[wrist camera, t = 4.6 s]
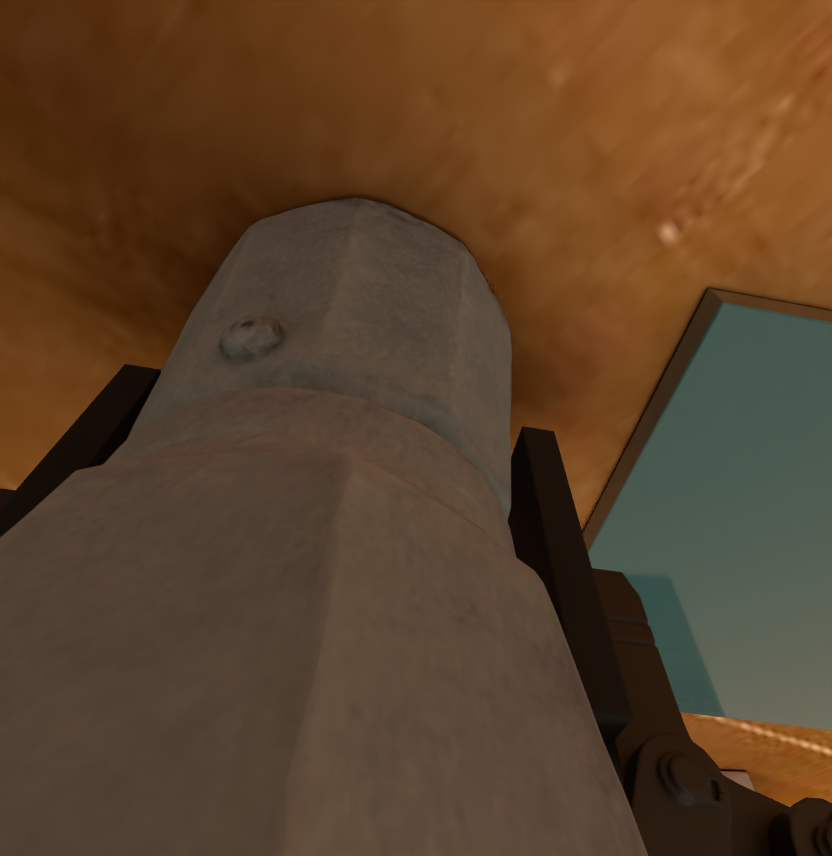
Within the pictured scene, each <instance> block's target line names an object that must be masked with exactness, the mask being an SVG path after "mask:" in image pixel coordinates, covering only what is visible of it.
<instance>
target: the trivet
mask: <svg viewBox="0 0 832 856" xmlns="http://www.w3.org/2000/svg"><path fill="white" fill-rule="evenodd" d="M583 537H584V541H585V544H586V548H587V552H588V555H589V559H590V562H591V566H592V568H596V569H603V570H610V571H617V572H622V573H623V574H624V576H625V577H626V578H627V580H628V581H629V582H630V584H631V585H632V586H633V588H634V589H635V590H636V591H637V593H638V594H639V595H640V598H641V601H642V604H643V607H644V610H645V613H646V616H647V619H648V626H650V627H651V630H652V633H653V636H654V639H655V647H658V650H659V653H660V656H661V659H662V662H663V665H664V668H665V670H666V673H667V676H668V679H669V682H670V685H671V688H672V691H673V693H674V696H675V699H676V702H677V705H678V708H679V711H680V712H684V713H692V714H700V715H709V716H717V717H725V718H733V719H742V720H750V721H758V722H766V723H775V724H783V725H791V726H799V727H808V728H816V729H824V730H832V311H830V310H824V309H819V308H813V307H808V306H802V305H797V304H791V303H786V302H781V301H775V300H770V299H764V298H759V297H753V296H748V295H742V294H737V293H732V292H726V291H721V290H715V289H708V290H707V292H706V294H705V296H704V298H703V300H702V302H701V304H700V306H699V308H698V309H697V311H696V313H695V315H694V317H693V319H692V321H691V323H690V325H689V327H688V329H687V331H686V333H685V335H684V337H683V339H682V341H681V343H680V345H679V347H678V348H677V350H676V352H675V354H674V356H673V358H672V360H671V362H670V364H669V366H668V368H667V370H666V372H665V374H664V376H663V378H662V380H661V382H660V384H659V386H658V387H657V389H656V391H655V393H654V395H653V397H652V399H651V401H650V403H649V405H648V407H647V409H646V411H645V413H644V415H643V417H642V419H641V421H640V423H639V425H638V426H637V428H636V430H635V432H634V434H633V436H632V438H631V440H630V442H629V444H628V446H627V448H626V450H625V452H624V454H623V456H622V458H621V460H620V462H619V464H618V465H617V467H616V469H615V471H614V473H613V475H612V477H611V479H610V481H609V483H608V485H607V487H606V489H605V491H604V493H603V495H602V497H601V499H600V501H599V503H598V504H597V506H596V508H595V510H594V512H593V514H592V516H591V518H590V520H589V522H588V524H587V526H586V528H585V530H584V532H583Z"/></svg>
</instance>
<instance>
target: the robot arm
mask: <svg viewBox="0 0 832 856" xmlns="http://www.w3.org/2000/svg"><path fill="white" fill-rule="evenodd" d="M160 374H161V370H159V369H153V368H146V367H140V366H134V365H127V364H125V365H124V366H123V367H122V368H121V369H120V371H119V372H118V373H117V374H116V375H115V376H114V378H113V379H112V380H111V381H110V382H109V383H108V384H107V386H106V387H105V388H104V389H103V390H102V391H101V393H100V394H99V395H98V396H97V397H96V398H95V399H94V401H93V402H92V403H91V404H90V405H89V406H88V408H87V409H86V410H85V411H84V412H83V413H82V414H81V416H80V417H79V418H78V419H77V420H76V421H75V423H74V424H73V425H72V426H71V427H70V428H69V430H68V431H67V432H66V433H65V434H64V435H63V436H62V438H61V439H60V440H59V441H58V442H57V443H56V445H55V446H54V447H53V448H52V449H51V450H50V451H49V453H48V454H47V455H46V456H45V457H44V458H43V460H42V461H41V462H40V463H39V464H38V465H37V466H36V468H35V469H34V470H33V471H32V472H31V473H30V475H29V476H28V477H27V478H26V479H25V480H24V482H23V483H22V484H21V485H20V486H19V487H18V488H17V490H16V491H15V490H7V489H0V537H2V536H3V535H4V534H5V533H6V532H7V531H9V530H10V529H11V528H12V527H13V526H14V525H15V524H17V523H18V522H19V521H20V520H21V519H22V518H24V517H25V516H26V515H27V514H28V513H29V512H30V511H32V510H33V509H34V508H35V507H36V506H37V505H38V504H39V503H40V502H42V501H43V500H44V499H45V498H46V497H47V496H48V495H49V494H50V493H52V492H53V491H54V490H55V489H56V488H57V487H58V486H59V485H60V484H61V483H63V482H64V481H65V480H66V479H67V478H68V477H69V476H70V475H71V474H73V473H74V472H75V471H76V470H80V469H85V468H90V467H94V466H99V465H103V464H104V463H105V462H106V461H107V460H108V459H109V458H110V457H111V455H112V454H113V453H114V452H115V451H116V450H117V449H118V448H119V447H120V446H121V445H122V444H123V443H124V442H125V441H126V440H127V438H128V436H129V434H130V432H131V430H132V428H133V425H134V423H135V422H136V420H137V418H138V416H139V414H140V412H141V410H142V408H143V406H144V404H145V403H146V401H147V399H148V397H149V395H150V393H151V391H152V389H153V388H154V386H155V384H156V382H157V380H158V378H159V376H160ZM508 525H509V528H510V531H511V535H512V540H513V545H514V549H515V554H516V558H518V559H519V560H520V561H522V562H523V563H524V564H526V565H527V566H529V567H530V568H531V569H533V570H534V571H535V572H536V573H537V575H538V576H539V577H540V579H541V580H542V582H543V583H544V585H545V588H546V590H547V593H548V595H549V597H550V600H551V602H552V604H553V607H554V609H555V611H556V614H557V617H558V619H559V622H560V625H561V627H562V630H563V633H564V636H565V638H566V641H567V644H568V646H569V649H570V652H571V654H572V657H573V660H574V662H575V665H576V668H577V670H578V673H579V676H580V679H581V681H582V684H583V687H584V690H585V692H586V695H587V698H588V701H589V703H590V706H591V709H592V712H593V715H594V717H595V720H596V723H597V726H598V728H599V731H600V734H601V737H602V739H603V742H604V744H605V746H606V749H607V751H608V754H609V756H610V759H611V761H612V764H613V766H614V768H615V771H616V773H617V776H618V778H619V781H620V783H621V785H622V788H623V790H624V793H625V795H626V798H627V800H628V803H629V805H630V808H631V810H632V813H633V816H634V818H635V821H636V824H637V827H638V829H639V832H640V835H641V838H642V840H643V843H644V846H645V848H646V851H647V854H648V856H832V803H830V802H828V801H826V800H824V799H818V798H807V797H806V798H804V799H803V800H801V801H799V802H797V803H795V804H794V805H792V806H791V807H788V806H786V805H783V804H781V803H779V802H777V801H775V800H773V799H770V798H768V797H766V796H764V795H762V794H760V793H757V792H755V791H753V790H751V789H749V788H747V787H744V786H742V785H740V784H738V783H736V782H735V781H733V780H731V779H729V778H728V777H726V776H724V775H723V774H722V773H721V771H720V769H719V767H718V766H717V764H716V763H715V762H714V761H713V760H712V759H711V758H710V756H709V755H708V754H707V753H706V752H705V751H704V750H703V749H702V748H701V747H699V746H698V745H696V744H695V743H694V742H693V741H692V740H691V738H690V736H689V734H688V732H687V730H686V727H685V725H684V722H683V719H682V717H681V714H680V711H679V708H678V705H677V702H676V699H675V696H674V693H673V691H672V688H671V685H670V682H669V679H668V676H667V673H666V670H665V668H664V665H663V662H662V659H661V656H660V653H659V650H658V647H655V639H654V636H653V633H652V630H651V627H650V626H648V619H647V616H646V613H645V610H644V607H643V604H642V601H641V598H640V595H639V594H638V593H637V591H636V590H635V589H634V588H633V586H632V585H631V584H630V582H629V581H628V580H627V578H626V577H625V576H624V574H623V573H622V572H617V571H610V570H603V569H596V568H592V566H591V562H590V559H589V555H588V552H587V548H586V544H585V541H584V537H583V534H582V530H581V526H580V523H579V519H578V516H577V512H576V509H575V505H574V501H573V498H572V494H571V491H570V487H569V484H568V480H567V476H566V473H565V469H564V466H563V462H562V458H561V455H560V451H559V448H558V444H557V441H556V437H555V433H554V431H549V430H542V429H536V428H529V427H523V426H522V429H521V432H520V434H519V437H518V440H517V443H516V446H515V448H514V451H513V454H512V457H511V508H510V513H509V517H508Z"/></svg>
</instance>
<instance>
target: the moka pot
mask: <svg viewBox="0 0 832 856" xmlns="http://www.w3.org/2000/svg"><path fill="white" fill-rule="evenodd" d="M511 363H512V347H511V331H510V328H509V326H508V324H507V321H506V319H505V316H504V314H503V311H502V309H501V307H500V304H499V303H498V301H497V299H496V297H495V295H494V293H493V292H492V291H491V289H490V287H489V285H488V283H487V281H486V280H485V278H484V276H483V274H482V273H481V271H480V269H479V268H478V266H477V263H476V261H475V259H474V258H473V256H472V255H471V254H470V253H469V251H468V250H467V249H466V247H465V246H464V245H463V244H462V243H461V242H459V241H457V240H455V239H454V238H452V237H450V236H449V235H447V234H446V233H444V232H443V231H441V230H440V229H438V228H437V227H435V226H433V225H431V224H428V223H426V222H424V221H421V220H419V219H417V218H415V217H413V216H411V215H410V214H408V213H406V212H403V211H400V210H397V209H396V208H394V207H392V206H390V205H388V204H384V203H380V202H377V201H373V200H368V199H362V198H349V199H341V200H332V201H325V202H320V203H316V204H312V205H308V206H303V207H299V208H295V209H292V210H289V211H286V212H284V213H281V214H278V215H275V216H271V217H268V218H264V219H261V220H259V221H258V222H256V223H255V224H253V225H251V226H250V227H249V228H248V229H247V230H246V231H245V233H244V234H243V235H242V237H241V238H240V239H239V241H238V242H237V243H236V245H235V246H234V247H233V248H232V250H231V251H230V253H229V254H228V256H227V257H226V259H225V260H224V262H223V263H222V265H221V266H220V268H219V269H218V271H217V272H216V274H215V276H214V277H213V279H212V280H211V282H210V284H209V285H208V287H207V288H206V290H205V292H204V293H203V295H202V296H201V298H200V299H199V301H198V302H197V304H196V305H195V307H194V308H193V310H192V312H191V314H190V316H189V318H188V320H187V322H186V324H185V326H184V328H183V330H182V332H181V334H180V337H179V339H178V341H177V343H176V345H175V346H174V348H173V350H172V352H171V354H170V356H169V358H168V360H167V362H166V364H165V366H164V368H163V370H162V372H161V374H160V376H159V378H158V380H157V382H156V384H155V386H154V388H153V389H152V391H151V393H150V395H149V397H148V399H147V401H146V403H145V404H144V406H143V408H142V410H141V412H140V414H139V416H138V418H137V420H136V422H135V423H134V425H133V428H132V430H131V432H130V434H129V436H128V438H127V440H126V441H125V442H124V443H123V444H122V445H121V446H120V447H119V448H118V449H117V450H116V451H115V452H114V453H113V454H112V455H111V457H110V458H109V459H108V460H107V461H106V462H105V463H104V464H103V465H99V466H94V467H90V468H85V469H80V470H76V471H75V472H74V473H73V474H71V475H70V476H69V477H68V478H67V479H66V480H65V481H64V482H63V483H61V484H60V485H59V486H58V487H57V488H56V489H55V490H54V491H53V492H52V493H50V494H49V495H48V496H47V497H46V498H45V499H44V500H43V501H42V502H40V503H39V504H38V505H37V506H36V507H35V508H34V509H33V510H32V511H30V512H29V513H28V514H27V515H26V516H25V517H24V518H22V519H21V520H20V521H19V522H18V523H17V524H15V525H14V526H13V527H12V528H11V529H10V530H9V531H7V532H6V533H5V534H4V535H3V536H2V537H0V856H648V854H647V851H646V848H645V846H644V843H643V840H642V838H641V835H640V832H639V829H638V827H637V824H636V821H635V818H634V816H633V813H632V810H631V808H630V805H629V803H628V800H627V798H626V795H625V793H624V790H623V788H622V785H621V783H620V781H619V778H618V776H617V773H616V771H615V768H614V766H613V764H612V761H611V759H610V756H609V754H608V751H607V749H606V746H605V744H604V742H603V739H602V737H601V734H600V731H599V728H598V726H597V723H596V720H595V717H594V715H593V712H592V709H591V706H590V703H589V701H588V698H587V695H586V692H585V690H584V687H583V684H582V681H581V679H580V676H579V673H578V670H577V668H576V665H575V662H574V660H573V657H572V654H571V652H570V649H569V646H568V644H567V641H566V638H565V636H564V633H563V630H562V627H561V625H560V622H559V619H558V617H557V614H556V611H555V609H554V607H553V604H552V602H551V600H550V597H549V595H548V593H547V590H546V588H545V585H544V583H543V582H542V580H541V579H540V577H539V576H538V575H537V573H536V572H535V571H534V570H533V569H531V568H530V567H529V566H527V565H526V564H524V563H523V562H522V561H520V560H519V559H518V558H516V554H515V549H514V545H513V540H512V535H511V531H510V528H509V525H508V517H509V513H510V508H511V441H510V417H511Z"/></svg>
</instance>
